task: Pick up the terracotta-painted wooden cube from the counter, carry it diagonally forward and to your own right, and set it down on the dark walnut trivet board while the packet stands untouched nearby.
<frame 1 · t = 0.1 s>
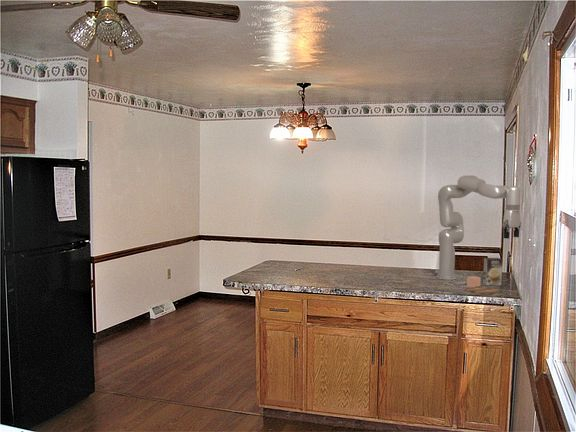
hand: (511, 237, 318), 31 cm above the worktop, tool pointing down, fingers open, 9 cm apart
coffee box: (492, 284, 339), on the worktop
cube: (473, 286, 333), on the worktop
walnut board: (482, 291, 319), on the worktop
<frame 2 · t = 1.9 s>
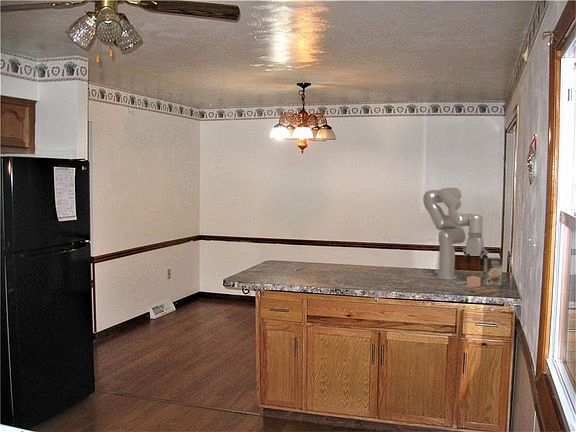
hand: (475, 264, 331), 14 cm above the worktop, tool pointing down, fingers open, 9 cm apart
nothing on the worktop moved.
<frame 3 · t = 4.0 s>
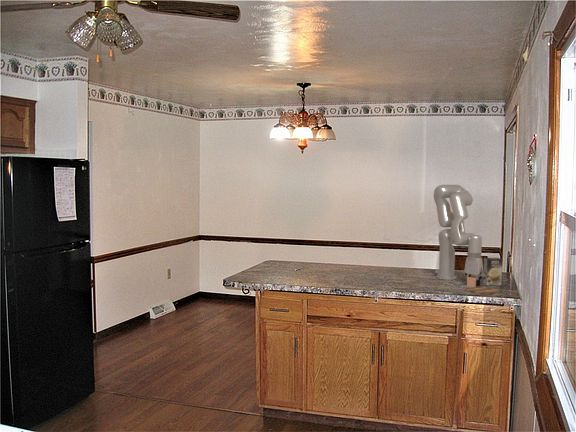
hand: (473, 285, 333), 1 cm above the worktop, tool pointing down, fingers closed on cube, 5 cm apart
cube: (473, 286, 333), on the worktop, touching gripper
everything else where it was.
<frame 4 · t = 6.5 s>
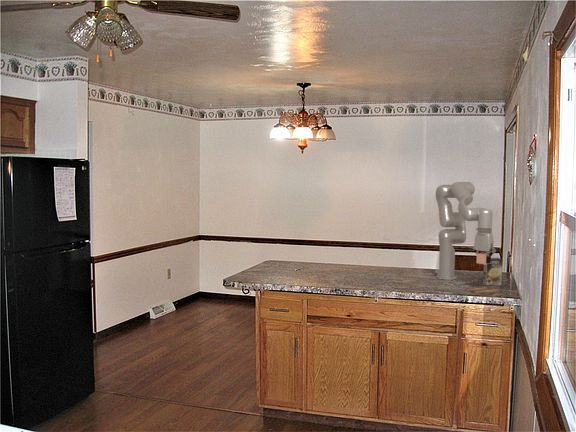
hand: (483, 262, 317), 17 cm above the worktop, tool pointing down, fingers closed on cube, 5 cm apart
cube: (483, 263, 317), point 16 cm above the worktop, touching gripper
everything else where it was.
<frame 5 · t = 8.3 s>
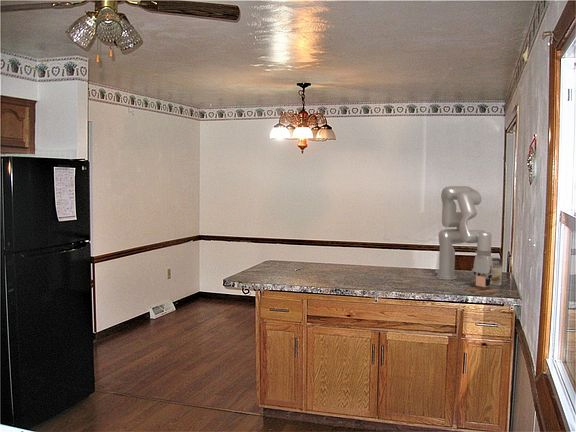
hand: (482, 284, 318), 4 cm above the worktop, tool pointing down, fingers closed on cube, 5 cm apart
cube: (482, 285, 318), point 4 cm above the worktop, touching gripper
everything else where it was.
when the fingers open (3 cm above the worktop, at t = 9.4 s): cube stays where it is, resting on walnut board.
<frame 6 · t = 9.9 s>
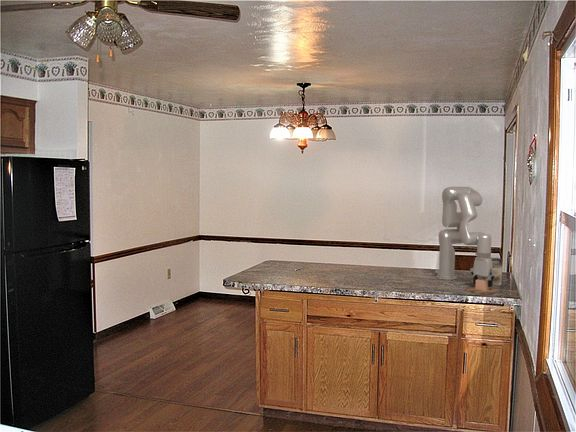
hand: (482, 285, 318), 4 cm above the worktop, tool pointing down, fingers open, 9 cm apart
cube: (482, 289, 319), point 1 cm above the worktop, touching walnut board
everything else where it was.
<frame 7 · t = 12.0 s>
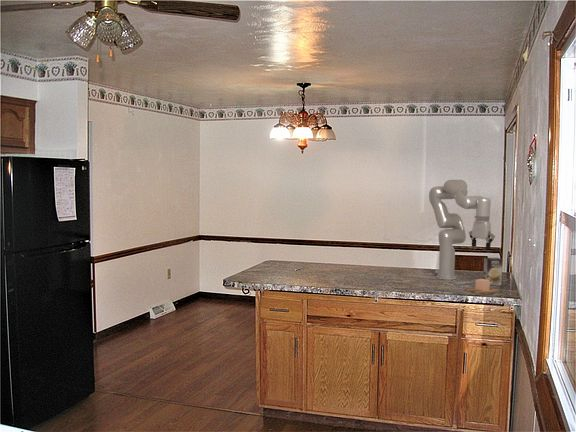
hand: (480, 247, 324), 24 cm above the worktop, tool pointing down, fingers open, 9 cm apart
nothing on the worktop moved.
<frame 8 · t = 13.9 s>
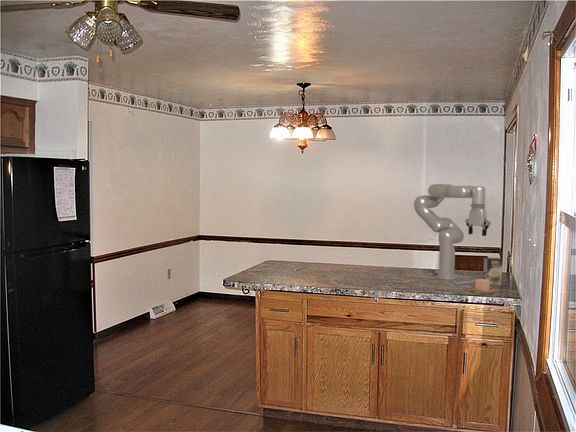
hand: (477, 234, 336), 30 cm above the worktop, tool pointing down, fingers open, 9 cm apart
nothing on the worktop moved.
at the end: cube inside the target area on the walnut board (0.0 cm from its centre), point 1.3 cm above the walnut board's base; cube tilted 0°; the gripper is holding nothing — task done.
